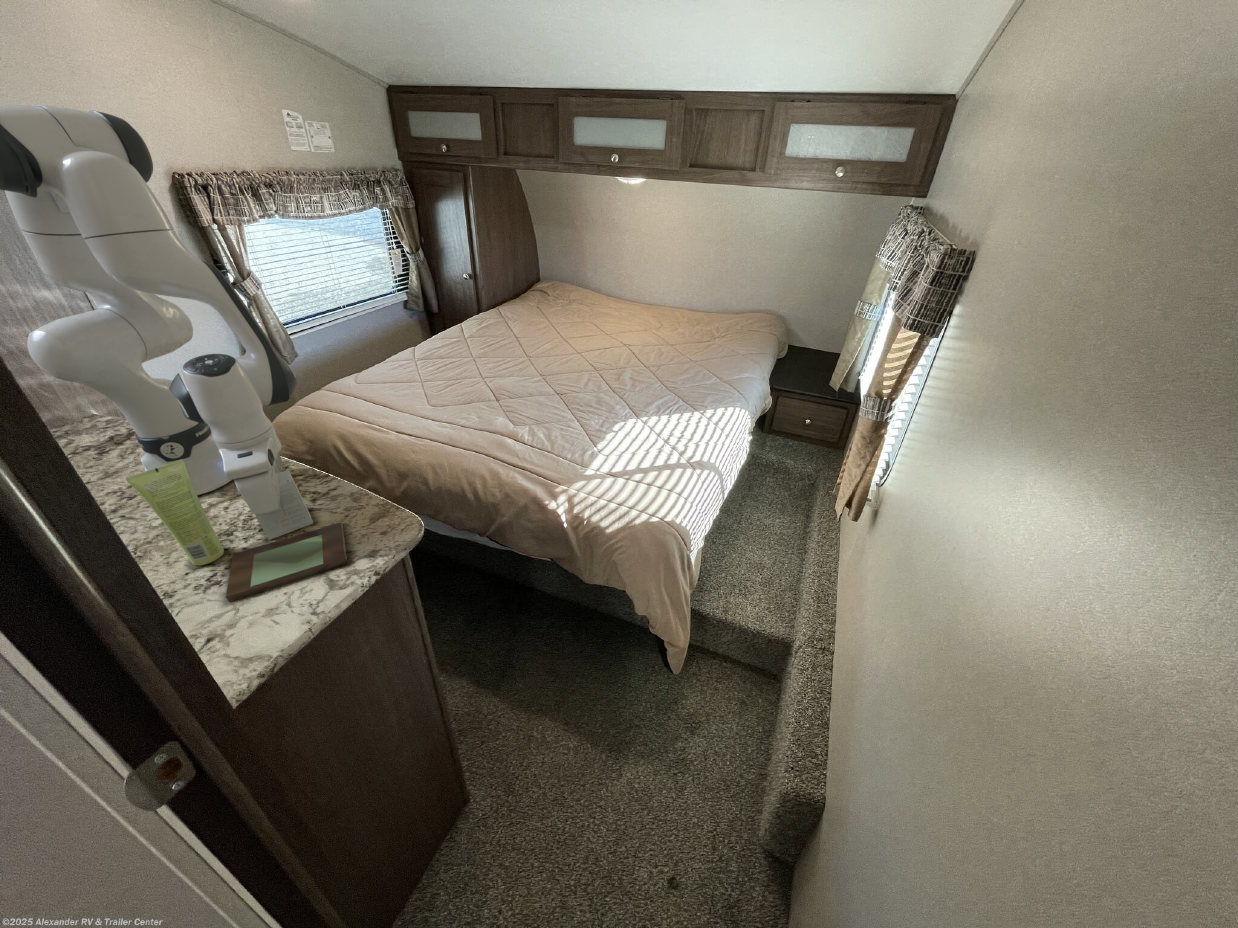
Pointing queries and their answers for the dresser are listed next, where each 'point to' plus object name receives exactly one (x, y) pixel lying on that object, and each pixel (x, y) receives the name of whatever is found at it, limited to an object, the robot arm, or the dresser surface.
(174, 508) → the tube
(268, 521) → the small box
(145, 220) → the robot arm
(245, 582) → the walnut board
